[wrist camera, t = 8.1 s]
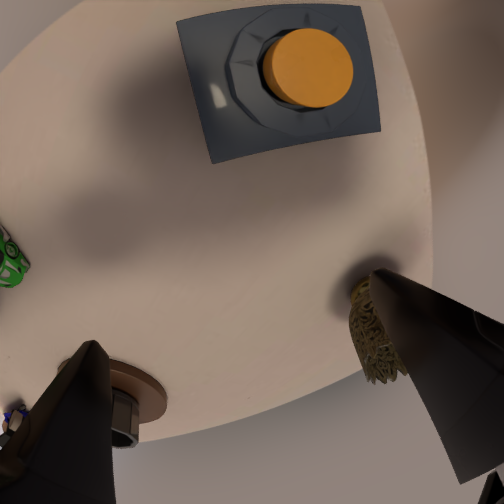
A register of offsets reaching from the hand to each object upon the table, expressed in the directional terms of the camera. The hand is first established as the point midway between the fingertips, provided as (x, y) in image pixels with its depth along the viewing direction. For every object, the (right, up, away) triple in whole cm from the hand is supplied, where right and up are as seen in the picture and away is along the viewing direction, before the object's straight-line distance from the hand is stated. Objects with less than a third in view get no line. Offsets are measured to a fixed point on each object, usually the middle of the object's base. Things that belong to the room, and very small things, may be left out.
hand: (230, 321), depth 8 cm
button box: (+2, +12, +6) cm, 14 cm away
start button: (+3, +10, +3) cm, 11 cm away
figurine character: (-37, -25, +20) cm, 49 cm away
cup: (+11, -1, +16) cm, 19 cm away
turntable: (-15, -14, +18) cm, 27 cm away
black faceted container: (-15, -14, +16) cm, 26 cm away
